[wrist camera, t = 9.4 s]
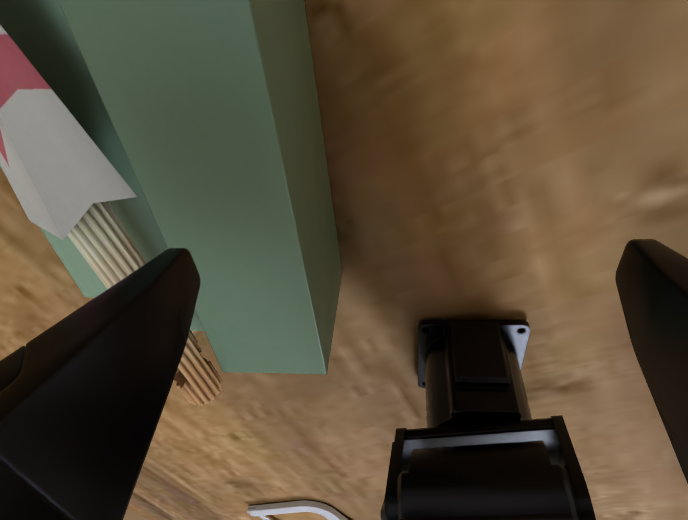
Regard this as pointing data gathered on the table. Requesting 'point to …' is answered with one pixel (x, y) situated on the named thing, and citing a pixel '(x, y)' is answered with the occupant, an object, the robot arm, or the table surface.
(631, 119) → the table surface
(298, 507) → the hand saw
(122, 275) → the paintbrush
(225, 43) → the staircase
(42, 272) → the table surface
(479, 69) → the table surface
